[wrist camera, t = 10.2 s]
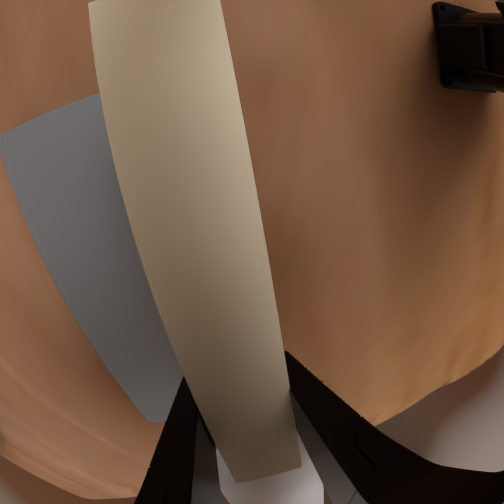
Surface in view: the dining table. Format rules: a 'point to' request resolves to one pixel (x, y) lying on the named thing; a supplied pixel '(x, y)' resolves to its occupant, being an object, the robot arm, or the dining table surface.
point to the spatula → (202, 233)
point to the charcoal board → (92, 246)
